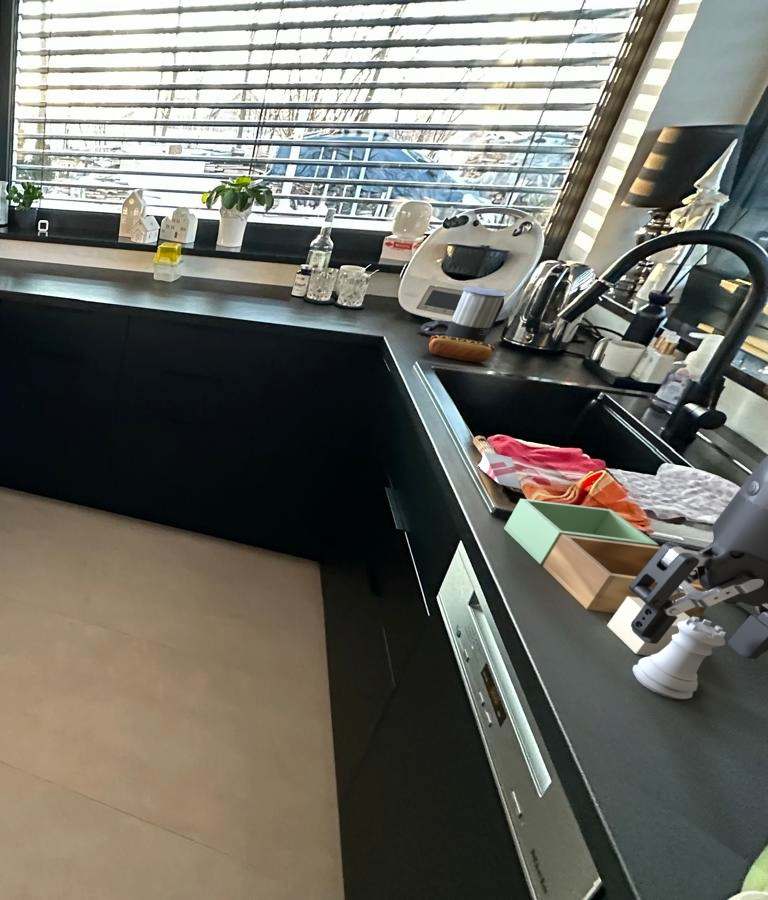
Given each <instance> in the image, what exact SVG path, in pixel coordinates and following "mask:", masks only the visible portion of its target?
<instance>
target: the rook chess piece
mask: <svg viewBox="0 0 768 900" xmlns="http://www.w3.org/2000/svg"><path fill="white" fill-rule="evenodd" d="M700 620H701V619H700V617H699V618H698V617H692V618H688V619H687V621H681V622H678V624H677V626H678V629H679V633H678V634H674V635H672V641H671V642H670V643H669V644H668V645H667V646H666V647H665V648H664V649H663V650H661V651H660V652H659V653H657V654H653V655H651V656H645V657H642V658H640V659H639V660H638V661H637V664H634V665H633V667H632V671H633V675H634V677H635V678H636V680H637V681H638V682H639V683H640V684H641V685H642V686H643V687H645V688H646V689H648V690H650V691H651V692H654V693H656V694H658V695H660V696H662V697H665V698H668V699H671V700H680V701H681V700H687V699H691V698H693V694H694V692H696V691H697V689H698V685H699V682H698V677H699V676H698V674H697V673H698V670H699V668H700V666H701V664H702V662H703V661H704V659H705V658H706V657H709V656H711V655H713V651H712V649H713V648H717V647H721V646H726V645H725V644H726V641H725V638H724V637H725V636H726V634H727V632H726V631H724V628H723V627H722V626H720V625H715V626H714V627H713V626H711V624H712V620H711V621H710V620H708V619H707V618H704V619H703V620H702V621H700Z"/></svg>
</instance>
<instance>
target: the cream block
mask: <svg viewBox="0 0 768 900" xmlns="http://www.w3.org/2000/svg"><path fill="white" fill-rule="evenodd" d="M644 605H645V602H644V601H643V600H641V599H640V598H636V597H629V596H628V597H627V598H626V599H625V601H624V602H623V603H622V605H621V606H620V608H619V609H618V610H617V612H616V613H614V614H613V616H612V617H611V618H610V620H609V622H608V623H607V624H606V627H608V629H609V630H611V631H612V633H613V634H615V636H616V637H618V638H619V639H620V640H621V642H623V643H624V644H625V645H626V646H627V647H628V648H629V649H630V650H631V651H632V652H633V653H634V654H636V655H641V656H645V657H648V656H651V655H653V654H657V653H659V652H660V651H661V650H663V649H664V648H665V647H666V646H667V645H668V644H669V643H670V642H671V641H672V635H674V634H678V633H679V629H678V626H677V624H678V622H681V621H687V619H688V618H690V617H689V616H688V615H687V614H685V613H684V612H683V613H681V614H678V615H676V616H677V617H678V618H677V619H676V620H675V622H674V623H673V624H672V626H671V627H670V628H669V629H668V631H667V632H666V633H665V634H664V636H663V637H662V638H661V640H660V641H659V642H658V643H657V644H651V643H645V642H644V641H643V640H641V639H640V638H639V637H638V636H637V635H636V634H635V633H634V632H633V631H632V627H631V623H632V621H633V620H634V618H635V617H636V616H637V614H638V613H639V612H640V610H641V609H642V608H643V606H644Z"/></svg>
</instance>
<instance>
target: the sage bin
mask: <svg viewBox="0 0 768 900" xmlns="http://www.w3.org/2000/svg"><path fill="white" fill-rule="evenodd" d="M503 529H504V530H505V532H506V533H508V535H510V536H511V538H513V540H515V541H516V543H518V544H519V545H520V546H521V547H522V548H523V549H524V550H525V551H526V552H527V554H529V555H530V556H531V557H532V558H533V559H534V560H535V561H536V562H537V563H538V564H539V565H542V566H543V565H544V563H545V561H546V560H547V558H548V556H549V555H550V553H551V551H552V550H553V548H554V547H555V545H556V543H557V542H558V540H559V538H560V537H561V535H570V536H578V537H586V538H594V539H602V540H609V541H617V542H625V543H633V544H641V545H649V546H656V547H657V546H658V547H660V546H659V543H657V542H656V541H654V540H653V539H651V538H650V537H649V536H648V535H646V534H645V533H644V532H642V531H641V530H640V529H638V528H637V527H635V526H634V525H633V524H631V523H630V522H629V521H627V520H626V519H625V518H623V517H622V516H621V515H619V514H618V513H616V512H615V511H614V510H612V509H611V508H602V507H596V506H595V507H594V506H586V505H579V504H578V505H577V504H569V503H561V502H552V501H544V500H536V499H528V498H519V500H518V502H517V503H516V506H515V507H514V509H513V511H512V513H511V515H510V516H509V518H508V520H507V522H506V524H505V525H504V527H503Z"/></svg>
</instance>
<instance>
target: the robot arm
mask: <svg viewBox="0 0 768 900" xmlns="http://www.w3.org/2000/svg"><path fill="white" fill-rule="evenodd" d="M711 527H712V533H713V535H712V536H713V540H712V541H711V543H709V545H707V546H706V547H704V548H703V549H701V550H699V551H697V550H691V549H686V548H684V547H682V546H680V545H679V544H677V543H676V542H674V541H668V542H665V543H664V544H662V545H661V546H660V547H661V548H660V549H659V550H658V551H657V553H656V554H655V555H654V556H653V557H652V559H651V560H650V561H649V562H648V564H647V565H646V566H645V567H644V568H643V570H642V571H641V572H640V573H639V575H638V576H637V577H636V578H635V580H634V581H633V582H632V583H631V584H630V586H629V589H630V590H631V591H632V592H633V593H634V594H636V595H637V596H638V597H639V598H640V599H641V600H643V601H644V602H645V605H644V606H643V608H642V609H641V610H640V612H639V613H638V614H637V616H636V617H635V618H634V620H633V621H632V623H631V627H632V631H633V632H634V633H635V634H636V635H637V636H638V637H639V638H640V639H641V640H643V641H644V642H645V643H651V644H657V643H658V642H659V641H660V640H661V638H662V637H663V636H664V634H665V633H666V632H667V631H668V629H669V628H670V627H671V626H672V624H673V623H674V622H675V620H676V619H677V618H678V617H677V616H676V615H678V614H681V613H683V612H685V611H687V610H690V609H692V608H694V607H697V606H700V607H707V608H709V607H712V606H715V605H717V604H719V603H722V602H724V603H731V604H732V603H734V604H735V603H743V604H746V605H749V606H752V607H754V609H755V613H756V614H757V615H752V614H750V615H749V616H748V617H747V618H746V619H745V621H744V622H743V623H742V624H741V625H740V627H739V628H738V629H737V630H736V631H735V632H734V634H733V635H731V637H730V638H729V640H728V642H727V643H728V646H729V647H730V648H731V649H732V650H734V652H735V653H737V654H738V655H740V657H742V658H744V659H751V660H757V659H759V657H760V656H761V655H763V654H765V653H766V652H768V455H767V456H765V457H764V458H763V460H760V462H759V463H758V464H757V466H756V467H755V468H754V470H752V472H751V473H750V475H749V476H748V477H747V479H746V480H745V481H744V483H743V484H742V485H741V487H740V488H739V490H737V492H736V493H735V494H734V496H733V497H732V498H731V500H730V501H729V503H727V505H726V507H725V508H724V509H723V511H722V512H721V513H720V515H719V516H718V517H717V519H716V520H715V521H714V522H713V524H712V526H711ZM698 579H699V583H700V585H701V586H702V587H703V588H704V589H705V590H706V591H705V592H701V591H698V590H697V589H695V588H694V587H693V586H691V585H690V583H691V582H693V581H695V580H698ZM655 580H656V581H657V586H656V587H655V588H654V589H653V588H651V587H650V586H651V585H652V584H653V583H654V582H655ZM677 593H685V594H686V596H684V597H682V598H679V599H677V600H675V601H672V600H671V599H670V598H669V597H671V596H673V595H675V594H677Z"/></svg>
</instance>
